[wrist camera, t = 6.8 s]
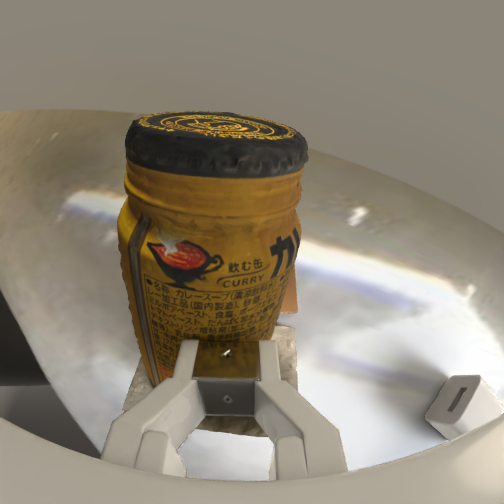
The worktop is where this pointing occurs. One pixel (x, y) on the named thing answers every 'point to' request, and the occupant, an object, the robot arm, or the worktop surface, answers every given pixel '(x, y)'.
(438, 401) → the usb wall charger
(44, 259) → the worktop surface
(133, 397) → the condiment
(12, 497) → the robot arm
